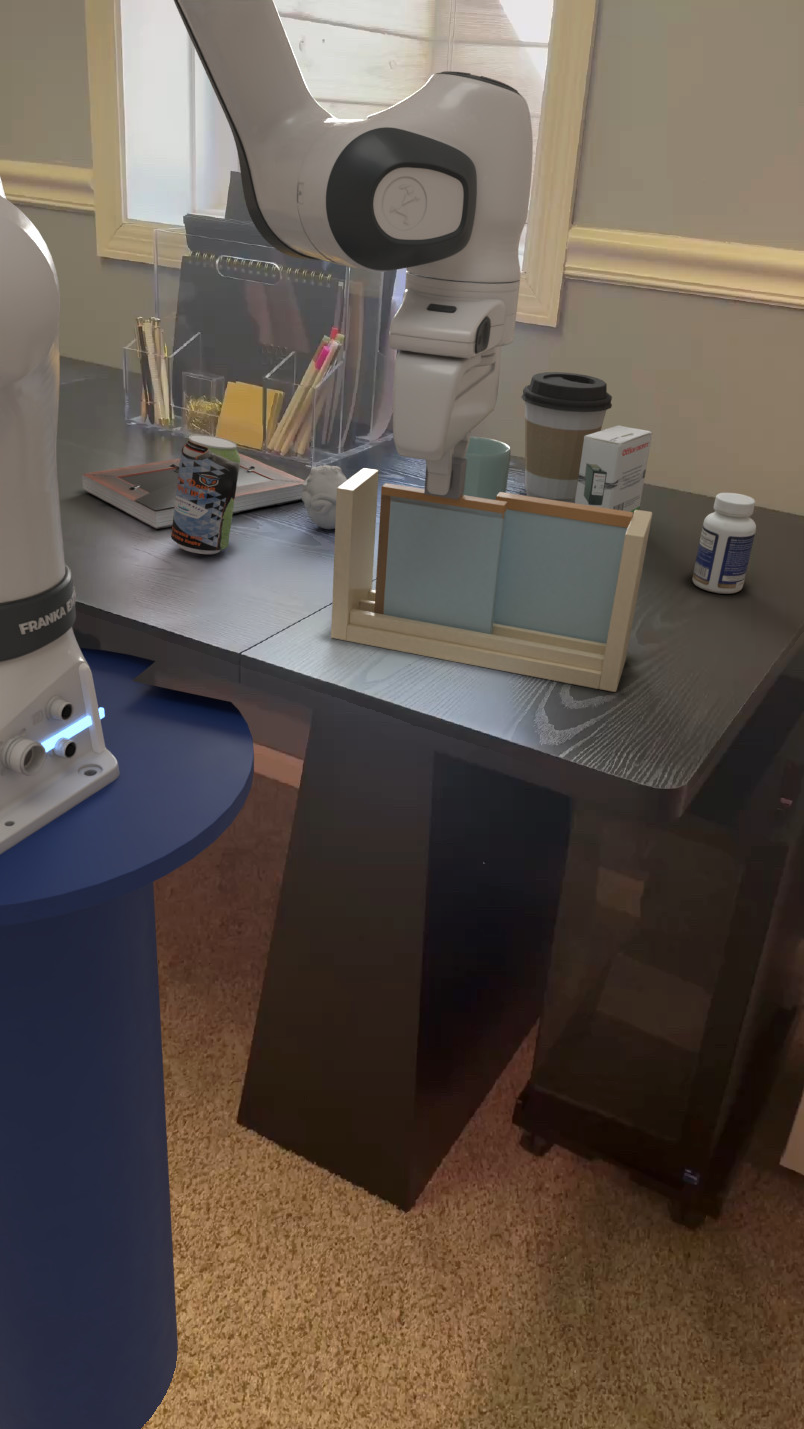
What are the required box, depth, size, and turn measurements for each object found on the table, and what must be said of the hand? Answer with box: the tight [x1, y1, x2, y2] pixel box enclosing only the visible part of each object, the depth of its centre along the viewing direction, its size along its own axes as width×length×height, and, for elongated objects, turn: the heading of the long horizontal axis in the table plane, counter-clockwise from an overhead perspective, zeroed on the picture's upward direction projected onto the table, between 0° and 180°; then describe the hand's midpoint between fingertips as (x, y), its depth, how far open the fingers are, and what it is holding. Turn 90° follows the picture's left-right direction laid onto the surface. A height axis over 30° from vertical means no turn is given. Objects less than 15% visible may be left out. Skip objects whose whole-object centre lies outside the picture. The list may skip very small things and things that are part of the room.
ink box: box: [575, 424, 653, 514], centre depth 129 cm, size 9×5×12 cm, turn 142°
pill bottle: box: [691, 492, 757, 595], centre depth 115 cm, size 5×5×10 cm
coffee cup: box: [520, 371, 613, 503], centre depth 138 cm, size 11×11×15 cm
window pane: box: [374, 457, 507, 634], centre depth 94 cm, size 2×11×16 cm, turn 73°
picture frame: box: [81, 452, 306, 530], centre depth 132 cm, size 16×2×22 cm
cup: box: [463, 436, 511, 500], centre depth 126 cm, size 8×8×10 cm
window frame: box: [330, 467, 653, 693], centre depth 96 cm, size 7×26×14 cm, turn 73°
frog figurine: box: [301, 464, 348, 530], centre depth 124 cm, size 6×7×7 cm
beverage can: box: [170, 434, 240, 555], centre depth 114 cm, size 6×7×12 cm
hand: (444, 487), depth 92 cm, fingers closed on window pane, 2 cm apart
